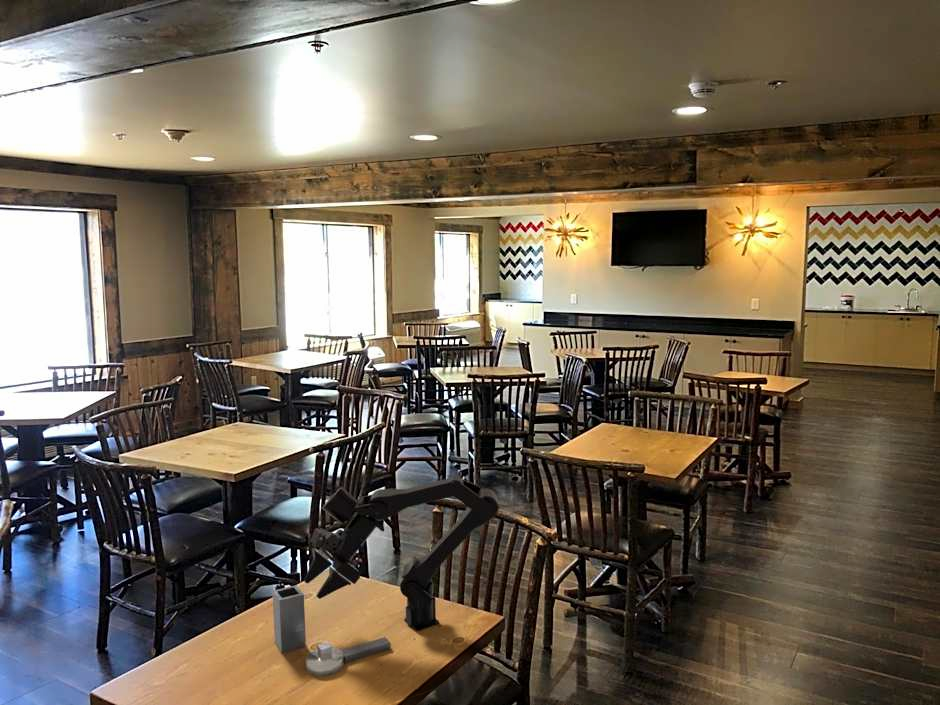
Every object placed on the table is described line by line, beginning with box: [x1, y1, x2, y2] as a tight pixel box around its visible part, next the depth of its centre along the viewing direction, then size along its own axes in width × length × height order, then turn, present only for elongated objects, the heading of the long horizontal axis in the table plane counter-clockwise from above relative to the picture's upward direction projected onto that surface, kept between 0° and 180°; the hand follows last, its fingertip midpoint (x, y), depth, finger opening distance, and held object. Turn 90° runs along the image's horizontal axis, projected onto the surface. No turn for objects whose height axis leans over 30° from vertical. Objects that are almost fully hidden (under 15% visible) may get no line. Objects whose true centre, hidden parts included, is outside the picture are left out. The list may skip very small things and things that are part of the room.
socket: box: [272, 585, 307, 654], centre depth 163 cm, size 6×6×12 cm
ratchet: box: [305, 636, 392, 677], centre depth 157 cm, size 19×8×4 cm, turn 121°
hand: (311, 589), depth 165 cm, fingers open, 9 cm apart
